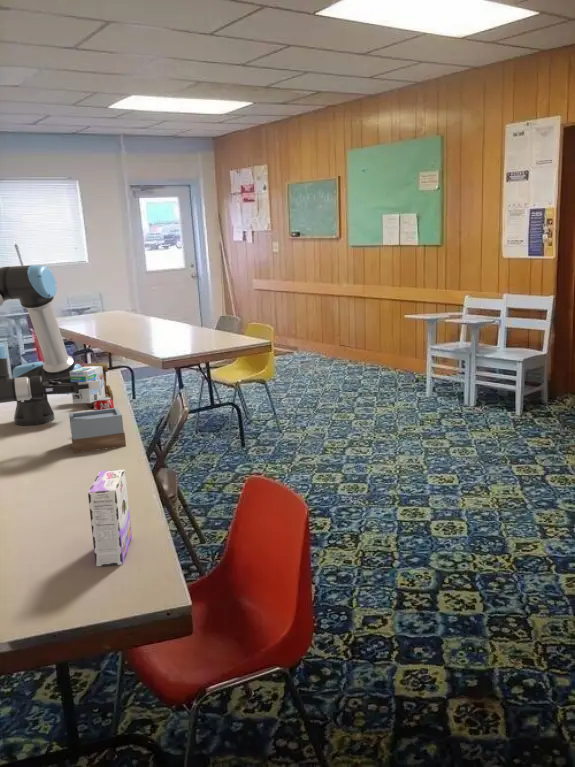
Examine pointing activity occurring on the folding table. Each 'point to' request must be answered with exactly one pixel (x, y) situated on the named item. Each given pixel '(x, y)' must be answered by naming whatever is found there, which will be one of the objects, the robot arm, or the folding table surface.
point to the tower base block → (99, 442)
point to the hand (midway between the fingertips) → (98, 381)
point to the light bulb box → (83, 376)
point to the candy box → (110, 517)
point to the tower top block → (96, 423)
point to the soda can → (103, 404)
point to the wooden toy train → (107, 388)
